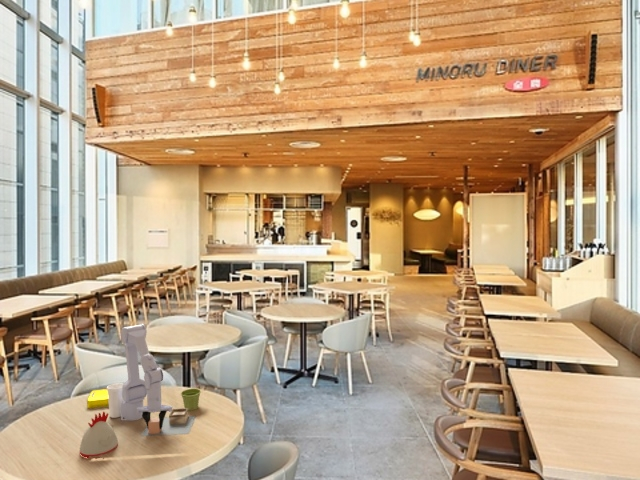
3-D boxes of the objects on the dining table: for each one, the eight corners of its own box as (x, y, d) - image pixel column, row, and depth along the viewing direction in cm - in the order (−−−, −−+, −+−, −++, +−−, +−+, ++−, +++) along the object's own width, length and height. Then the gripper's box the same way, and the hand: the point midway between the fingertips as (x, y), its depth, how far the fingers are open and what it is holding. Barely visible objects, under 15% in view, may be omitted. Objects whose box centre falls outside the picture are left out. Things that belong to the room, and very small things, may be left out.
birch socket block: (169, 424, 208) (169, 415, 208) (172, 417, 215) (172, 408, 215) (185, 423, 209) (185, 414, 208) (188, 416, 216) (188, 408, 215)
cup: (129, 412, 223) (128, 383, 223) (120, 419, 215) (119, 389, 215) (113, 411, 224) (112, 382, 224) (104, 419, 216) (102, 388, 216)
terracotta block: (148, 433, 199) (148, 422, 198) (151, 429, 203) (151, 418, 203) (159, 433, 199) (158, 421, 199) (161, 428, 203) (161, 417, 203)
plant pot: (189, 415, 219) (188, 397, 219) (177, 410, 225) (176, 392, 225) (205, 408, 227) (204, 391, 226) (193, 404, 233) (192, 387, 232)
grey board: (140, 438, 197) (140, 436, 197) (152, 420, 215) (151, 417, 215) (188, 436, 198) (188, 433, 198) (196, 417, 216) (196, 415, 216)
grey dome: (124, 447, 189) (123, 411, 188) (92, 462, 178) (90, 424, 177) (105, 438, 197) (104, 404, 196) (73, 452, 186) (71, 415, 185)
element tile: (91, 398, 243) (91, 389, 242) (122, 394, 247) (122, 386, 247) (86, 409, 228) (86, 400, 228) (119, 405, 233) (119, 396, 232)
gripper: (134, 401, 196) (135, 433, 196) (169, 400, 197) (170, 431, 198) (138, 395, 203) (139, 425, 203) (173, 393, 204) (173, 424, 205)
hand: (155, 428), depth 201 cm, fingers closed on terracotta block, 4 cm apart
